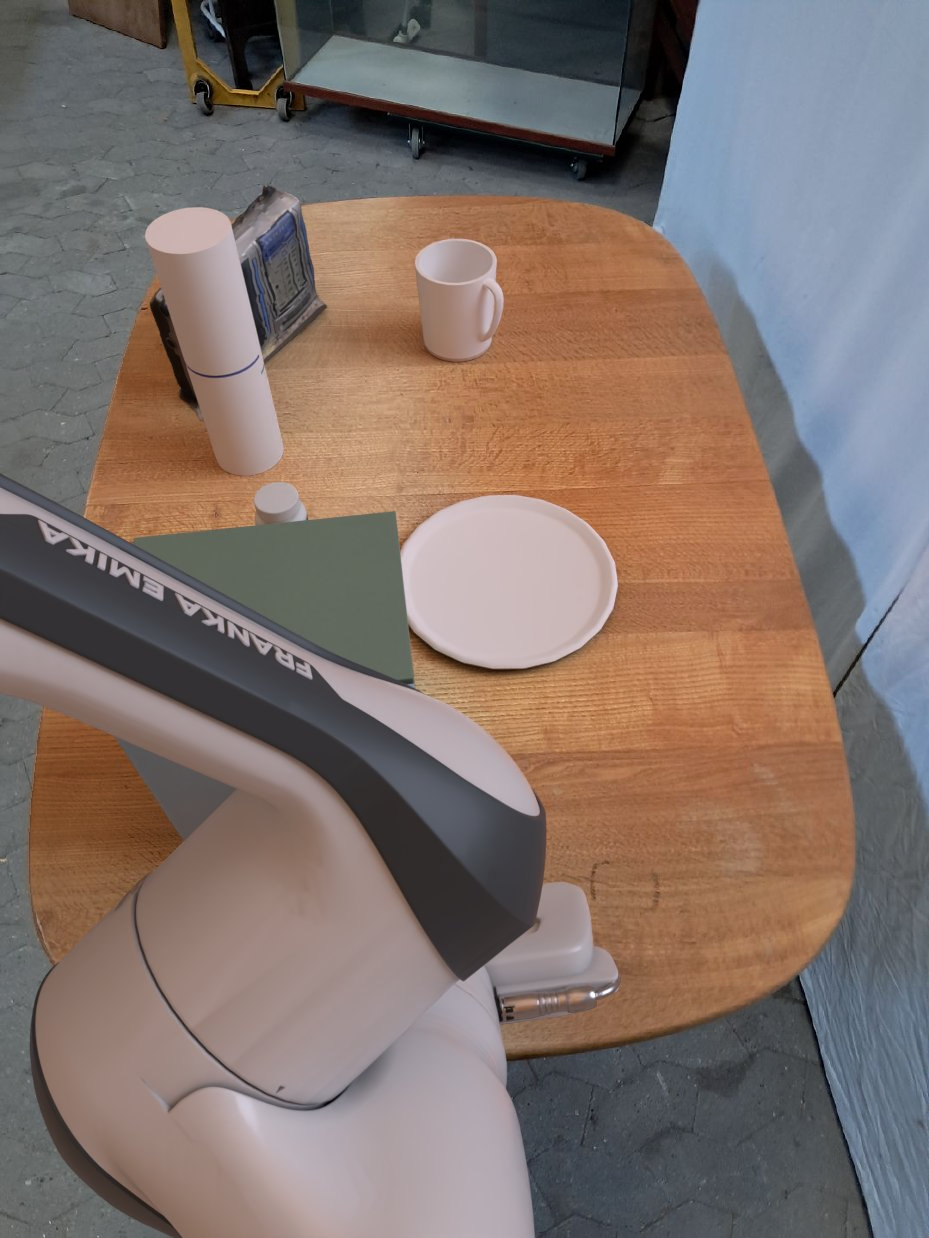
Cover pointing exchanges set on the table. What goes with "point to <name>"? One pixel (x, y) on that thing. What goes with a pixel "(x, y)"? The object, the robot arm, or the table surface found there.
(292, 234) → the radio
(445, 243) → the mug
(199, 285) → the cylindrical container
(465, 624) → the plate
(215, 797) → the cabinet door
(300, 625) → the cupboard
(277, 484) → the pill bottle
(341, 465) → the table surface
